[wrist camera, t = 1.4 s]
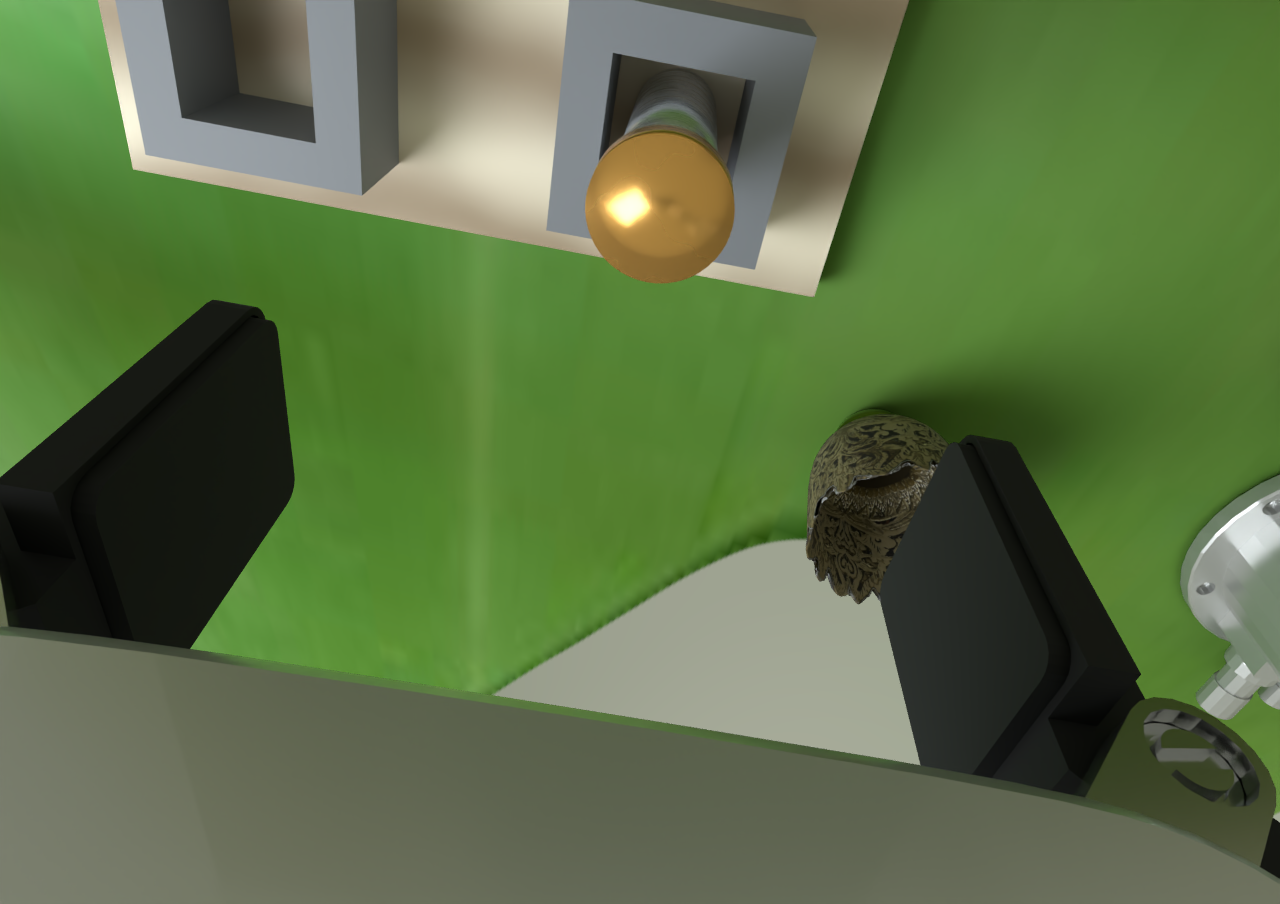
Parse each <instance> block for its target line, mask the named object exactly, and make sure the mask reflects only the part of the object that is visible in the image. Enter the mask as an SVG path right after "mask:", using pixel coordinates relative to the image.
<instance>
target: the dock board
mask: <svg viewBox="0 0 1280 904" xmlns="http://www.w3.org/2000/svg"><path fill="white" fill-rule="evenodd" d="M711 1H716V2H721V3H726V4H730V5H735V6H740V7H745V8H750V9H755V10H760V11H765V12H770V13H775V14H780V15H785V16H790V17H795V18H800V19H805V21H806V22H807V24H808V25H809V26H810V28H811V29H812V31H813V32H814V33H815V35H816V36H817V40H816V43H815V47H814V51H813V55H812V58H811V62H810V66H809V70H808V73H807V77H806V81H805V85H804V88H803V92H802V96H801V100H800V103H799V107H798V111H797V115H796V118H795V122H794V126H793V129H792V133H791V137H790V141H789V144H788V148H787V152H786V156H785V159H784V163H783V167H782V171H781V174H780V178H779V182H778V186H777V189H776V193H775V197H774V201H773V204H772V208H771V212H770V215H769V219H768V223H767V227H766V230H765V234H764V238H763V242H762V245H761V249H760V253H759V257H758V260H757V264H756V268H755V270H753V269H748V268H742V267H737V266H732V265H726V264H721V263H716V262H712V263H711V264H710V265H709V266H708V267H707V268H705V269H704V270H702V271H701V272H699V273H698V274H696V275H699V276H704V277H709V278H715V279H720V280H725V281H731V282H736V283H741V284H747V285H752V286H757V287H762V288H768V289H773V290H778V291H784V292H789V293H794V294H800V295H805V296H810V297H814V295H815V292H816V289H817V286H818V283H819V280H820V276H821V273H822V270H823V267H824V264H825V261H826V258H827V255H828V252H829V248H830V245H831V242H832V239H833V236H834V233H835V230H836V227H837V224H838V220H839V217H840V214H841V211H842V208H843V205H844V202H845V199H846V195H847V192H848V189H849V186H850V183H851V180H852V177H853V174H854V171H855V167H856V164H857V161H858V158H859V155H860V152H861V149H862V146H863V143H864V139H865V136H866V133H867V130H868V127H869V124H870V121H871V118H872V114H873V111H874V108H875V105H876V102H877V99H878V96H879V93H880V90H881V86H882V83H883V80H884V77H885V74H886V71H887V68H888V65H889V62H890V58H891V55H892V52H893V49H894V46H895V43H896V40H897V37H898V33H899V30H900V27H901V24H902V21H903V18H904V15H905V12H906V9H907V5H908V2H909V0H711ZM98 2H99V7H100V12H101V17H102V21H103V26H104V31H105V36H106V41H107V45H108V50H109V55H110V60H111V65H112V70H113V74H114V79H115V84H116V89H117V94H118V98H119V103H120V108H121V113H122V118H123V122H124V127H125V132H126V137H127V142H128V147H129V151H130V156H131V161H132V166H133V169H135V170H140V171H145V172H151V173H156V174H161V175H167V176H172V177H177V178H183V179H188V180H193V181H198V182H204V183H209V184H214V185H220V186H225V187H230V188H236V189H241V190H246V191H252V192H257V193H262V194H268V195H273V196H278V197H284V198H289V199H294V200H300V201H305V202H310V203H316V204H321V205H326V206H332V207H337V208H342V209H347V210H353V211H358V212H363V213H369V214H374V215H379V216H385V217H390V218H395V219H401V220H406V221H411V222H417V223H422V224H427V225H433V226H438V227H443V228H449V229H454V230H459V231H465V232H470V233H475V234H480V235H486V236H491V237H496V238H502V239H507V240H512V241H518V242H523V243H528V244H534V245H539V246H544V247H550V248H555V249H560V250H566V251H571V252H576V253H582V254H587V255H592V256H598V257H603V256H602V255H601V254H600V252H599V251H598V249H597V248H596V246H595V244H594V242H593V240H592V239H589V238H583V237H578V236H573V235H567V234H562V233H557V232H551V231H546V228H547V218H548V208H549V198H550V188H551V178H552V168H553V158H554V148H555V138H556V128H557V118H558V108H559V97H560V87H561V77H562V67H563V57H564V47H565V37H566V27H567V17H568V7H569V0H397V53H398V130H399V164H398V165H397V166H395V167H394V168H393V169H392V170H391V171H390V172H389V173H387V174H386V175H385V176H384V177H383V178H382V179H381V180H379V181H378V182H377V183H376V184H375V185H374V186H373V187H371V188H370V189H369V190H368V191H367V192H366V193H365V194H364V195H362V196H361V195H355V194H350V193H345V192H340V191H334V190H329V189H324V188H318V187H313V186H308V185H302V184H297V183H292V182H287V181H281V180H276V179H271V178H265V177H260V176H255V175H249V174H244V173H239V172H234V171H228V170H223V169H218V168H212V167H207V166H202V165H196V164H191V163H186V162H181V161H175V160H170V159H165V158H159V157H154V156H149V155H145V149H144V144H143V139H142V134H141V129H140V124H139V119H138V114H137V109H136V104H135V99H134V94H133V88H132V83H131V78H130V73H129V68H128V63H127V58H126V53H125V48H124V43H123V38H122V32H121V27H120V22H119V17H118V12H117V7H116V2H115V0H98ZM228 2H229V10H230V19H231V27H232V35H233V43H234V51H235V59H236V67H237V76H238V84H239V92H240V93H243V94H248V95H253V96H258V97H263V98H269V99H274V100H279V101H284V102H289V103H295V104H300V105H305V106H310V107H313V96H312V82H311V69H310V55H309V41H308V27H307V13H306V0H228ZM667 69H685V70H688V71H691V72H693V73H695V74H697V75H698V76H700V77H701V78H702V79H703V80H704V81H705V82H706V83H707V84H708V86H709V87H710V89H711V91H712V93H713V95H714V98H715V102H716V109H717V151H718V153H719V154H720V156H721V157H722V158H723V160H724V162H725V164H726V165H727V161H728V156H729V152H730V147H731V143H732V139H733V134H734V130H735V125H736V121H737V116H738V112H739V108H740V103H741V99H742V94H743V90H744V86H745V81H746V79H743V78H738V77H733V76H728V75H723V74H718V73H713V72H708V71H703V70H698V69H692V68H687V67H682V66H677V65H672V64H667V63H662V62H657V61H652V60H647V59H642V58H637V57H632V56H627V55H621V63H620V70H619V77H618V84H617V91H616V99H615V106H614V113H613V120H612V128H611V135H610V142H609V147H610V146H611V145H612V144H613V143H614V142H615V141H617V140H618V139H619V138H621V137H622V136H624V133H625V131H626V128H627V125H628V122H629V119H630V117H631V114H632V111H633V108H634V105H635V103H636V100H637V97H638V94H639V92H640V90H641V89H642V87H643V86H644V84H645V83H646V82H647V81H648V80H649V79H650V78H651V77H652V76H654V75H655V74H657V73H659V72H661V71H664V70H667ZM603 258H604V257H603Z"/></svg>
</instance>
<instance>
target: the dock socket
mask: <svg viewBox="0 0 1280 904" xmlns="http://www.w3.org/2000/svg"><path fill="white" fill-rule="evenodd" d="M115 2H116V7H117V12H118V17H119V22H120V27H121V32H122V38H123V43H124V48H125V53H126V58H127V63H128V68H129V73H130V78H131V83H132V88H133V94H134V99H135V104H136V109H137V114H138V119H139V124H140V129H141V134H142V139H143V144H144V149H145V155H149V156H154V157H159V158H165V159H170V160H175V161H181V162H186V163H191V164H196V165H202V166H207V167H212V168H218V169H223V170H228V171H234V172H239V173H244V174H249V175H255V176H260V177H265V178H271V179H276V180H281V181H287V182H292V183H297V184H302V185H308V186H313V187H318V188H324V189H329V190H334V191H340V192H345V193H350V194H355V195H361V196H362V195H364V194H365V193H366V192H367V191H368V190H369V189H370V188H371V187H373V186H374V185H375V184H376V183H377V182H378V181H379V180H381V179H382V178H383V177H384V176H385V175H386V174H387V173H389V172H390V171H391V170H392V169H393V168H394V167H395V166H397V165H398V164H399V130H398V53H397V0H306V13H307V27H308V41H309V55H310V69H311V82H312V96H313V107H310V106H305V105H300V104H295V103H289V102H284V101H279V100H274V99H269V98H263V97H258V96H253V95H248V94H243V93H240V92H239V84H238V76H237V67H236V59H235V51H234V43H233V35H232V27H231V19H230V10H229V2H228V0H115Z"/></svg>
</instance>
